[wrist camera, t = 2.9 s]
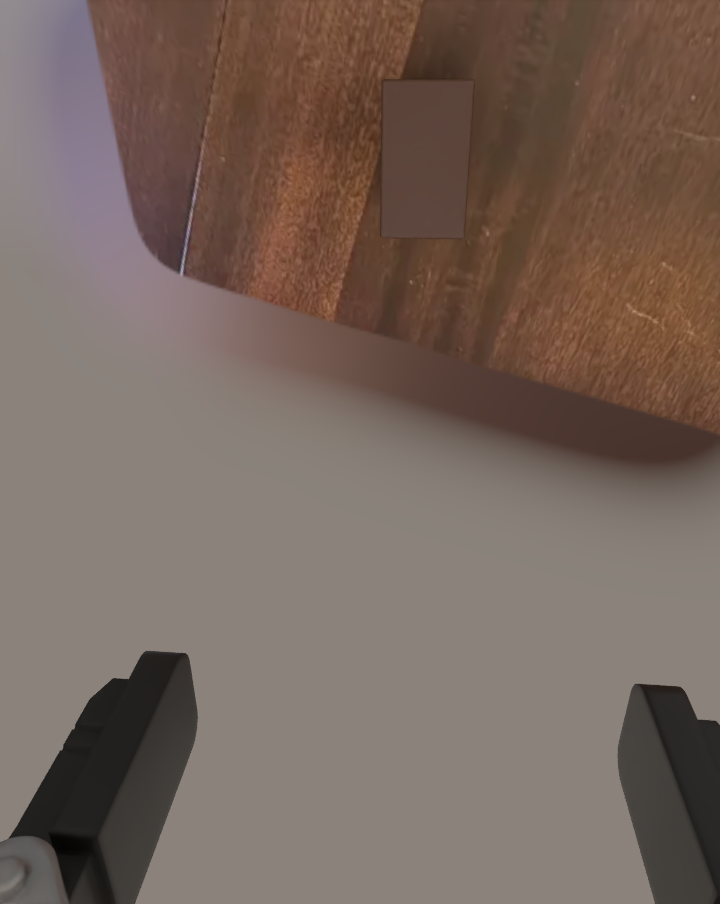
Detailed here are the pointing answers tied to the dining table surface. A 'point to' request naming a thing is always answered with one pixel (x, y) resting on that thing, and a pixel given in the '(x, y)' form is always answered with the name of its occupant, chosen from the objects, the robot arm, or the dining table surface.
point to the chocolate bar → (425, 157)
